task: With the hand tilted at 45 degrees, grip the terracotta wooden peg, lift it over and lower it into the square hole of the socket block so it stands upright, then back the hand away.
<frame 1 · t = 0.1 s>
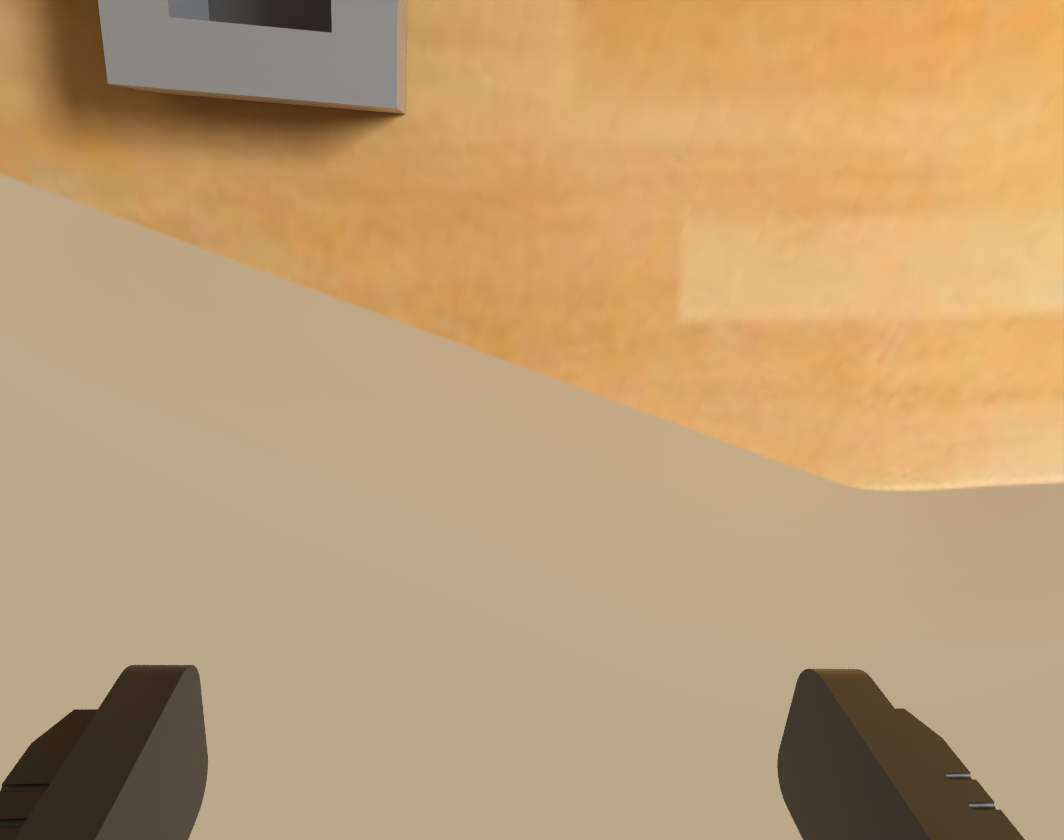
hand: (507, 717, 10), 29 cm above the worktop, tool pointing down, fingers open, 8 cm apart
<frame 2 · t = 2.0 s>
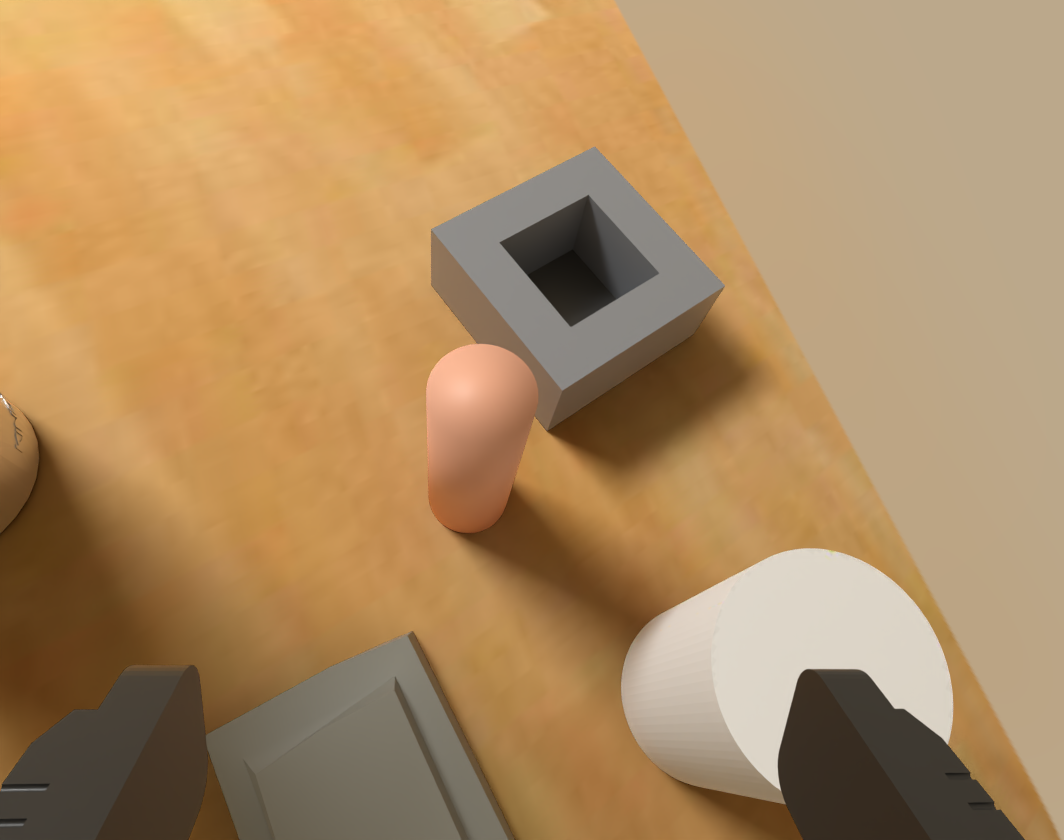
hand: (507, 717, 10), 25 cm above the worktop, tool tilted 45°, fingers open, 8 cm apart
white patterned cylinder: (703, 692, 34), on the worktop
peg: (468, 494, 36), on the worktop
socket block: (563, 309, 42), on the worktop
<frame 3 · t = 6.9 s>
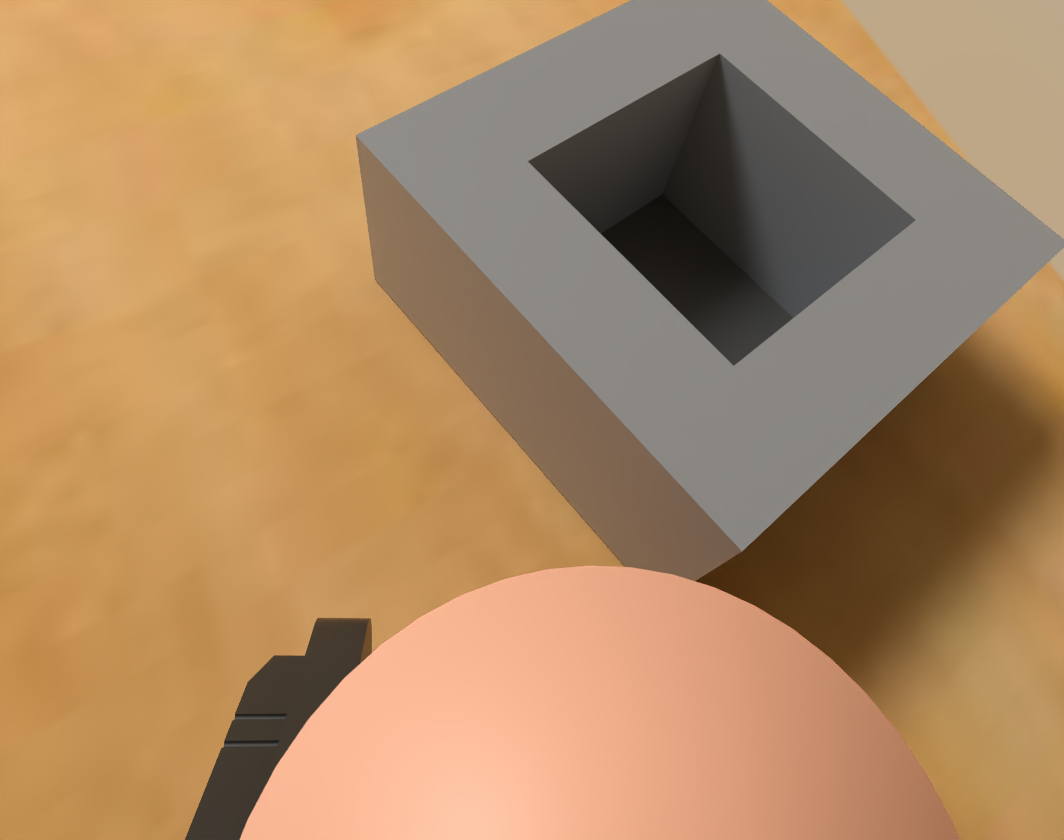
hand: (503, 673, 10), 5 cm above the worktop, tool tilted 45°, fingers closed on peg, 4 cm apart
peg: (481, 799, 14), on the worktop, touching gripper
socket block: (659, 318, 20), on the worktop
when the fingers open (7 cm above the worktop, at t = 12.6 s): peg drops 2 cm, resting on socket block.
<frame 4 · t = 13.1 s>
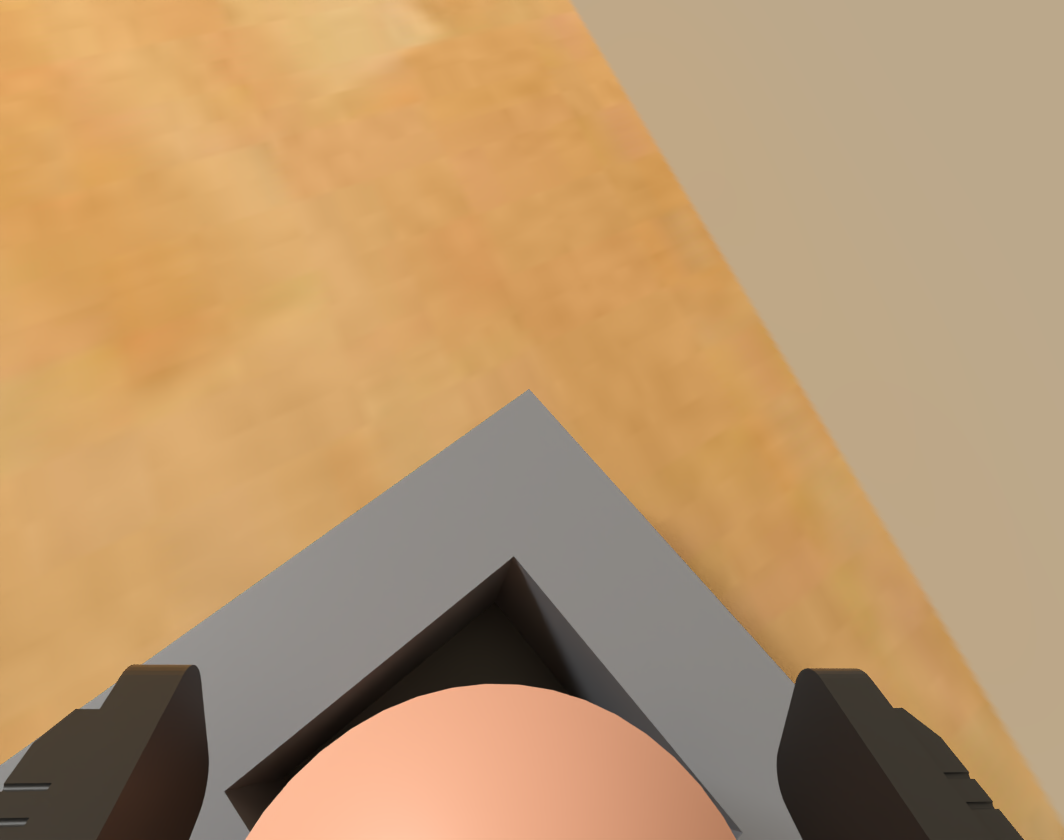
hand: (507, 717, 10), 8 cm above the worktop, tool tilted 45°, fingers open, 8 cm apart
peg: (476, 798, 16), resting on socket block
socket block: (475, 793, 16), on the worktop
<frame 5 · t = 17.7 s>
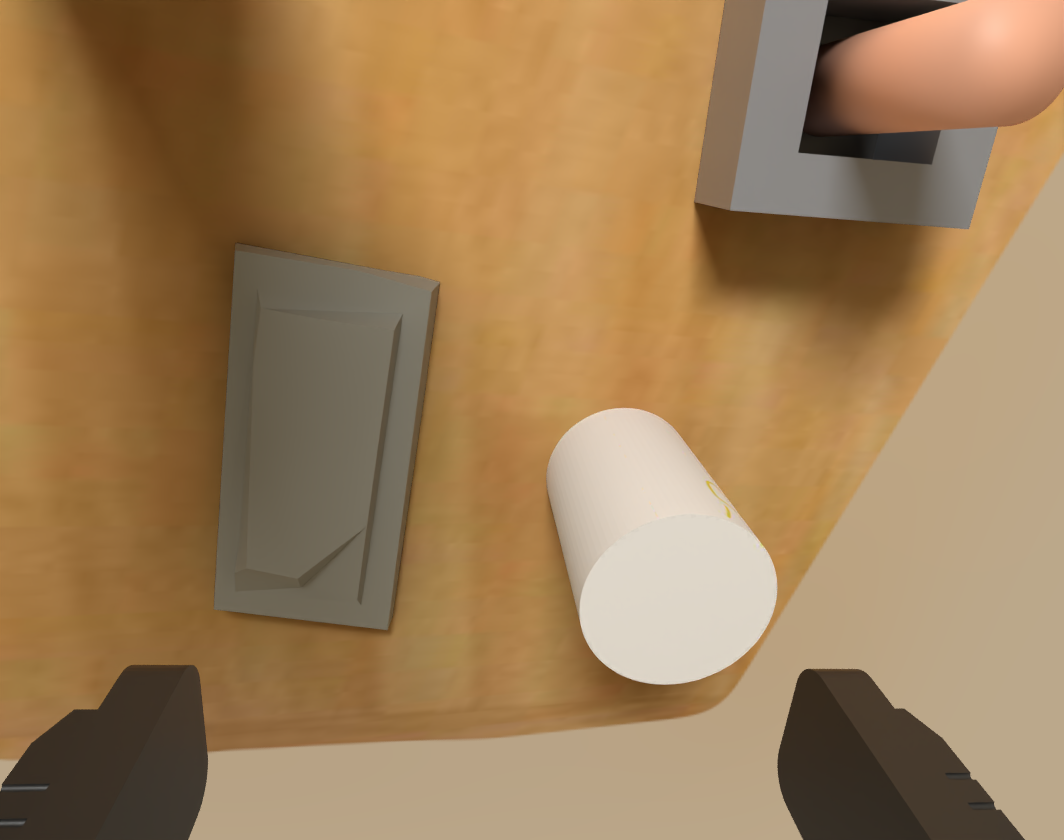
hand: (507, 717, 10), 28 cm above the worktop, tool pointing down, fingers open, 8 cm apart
white patterned cylinder: (617, 474, 40), on the worktop
soap mold: (324, 444, 39), on the worktop
peg: (826, 90, 34), resting on socket block
socket block: (825, 89, 34), on the worktop
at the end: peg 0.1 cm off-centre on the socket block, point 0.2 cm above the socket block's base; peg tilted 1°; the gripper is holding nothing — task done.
